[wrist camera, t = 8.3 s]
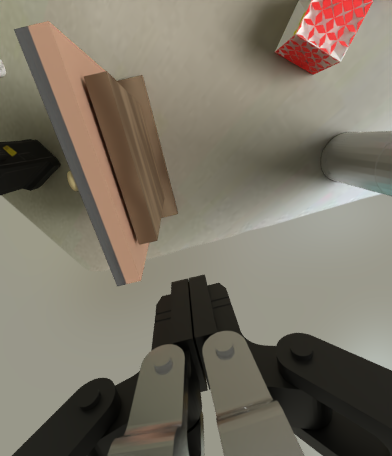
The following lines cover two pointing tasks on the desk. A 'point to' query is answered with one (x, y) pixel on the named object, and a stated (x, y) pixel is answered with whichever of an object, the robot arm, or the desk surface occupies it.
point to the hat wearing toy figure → (2, 69)
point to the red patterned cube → (321, 32)
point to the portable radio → (25, 165)
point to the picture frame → (83, 143)
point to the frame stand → (133, 150)
